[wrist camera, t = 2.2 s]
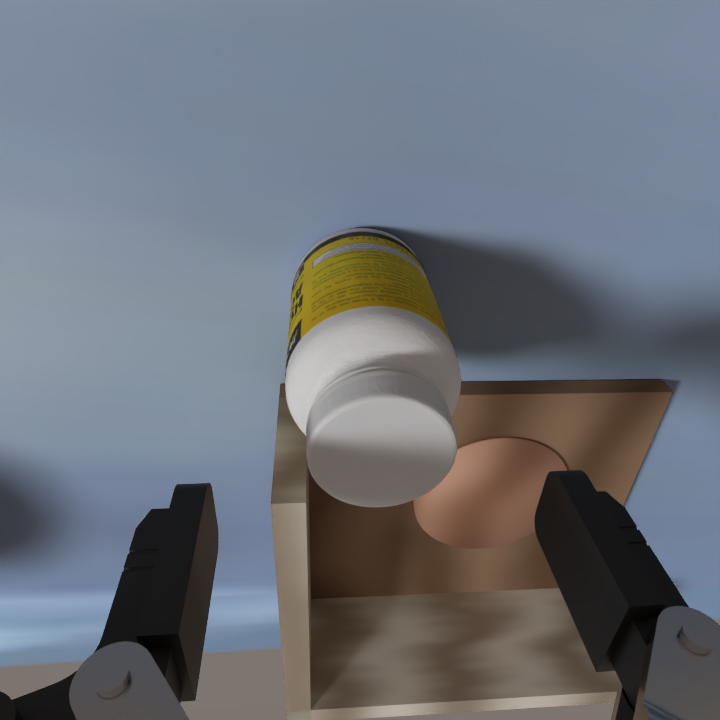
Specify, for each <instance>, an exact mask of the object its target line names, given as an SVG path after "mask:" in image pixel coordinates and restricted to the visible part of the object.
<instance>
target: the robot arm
mask: <svg viewBox="0 0 720 720" xmlns="http://www.w3.org/2000/svg"><path fill="white" fill-rule="evenodd" d="M534 523H535V532H536V536H537V539H538V541H539V544H540V546H541V548H542V550H543V553H544V555H545V557H546V560H547V562H548V564H549V566H550V569H551V571H552V573H553V575H554V578H555V580H556V582H557V584H558V587H559V589H560V591H561V594H562V596H563V598H564V600H565V603H566V605H567V607H568V609H569V612H570V614H571V616H572V618H573V621H574V623H575V625H576V628H577V630H578V632H579V634H580V637H581V639H582V641H583V643H584V646H585V648H586V650H587V653H588V655H589V657H590V659H591V662H592V664H593V666H594V668H595V671H596V672H606V671H615V672H616V674H617V676H618V678H619V680H620V682H621V684H620V685H619V687H618V690H617V694H616V699H615V703H614V708H613V713H612V717H611V720H720V625H719V624H718V623H717V622H715V621H714V620H713V619H712V618H710V617H709V616H707V615H706V614H704V613H702V612H700V611H698V610H695V609H693V608H689V606H688V605H687V604H686V602H685V601H684V599H683V598H682V596H681V595H680V593H679V591H678V590H677V588H676V587H675V585H674V584H673V582H672V581H671V579H670V577H669V576H668V574H667V573H666V571H665V570H664V568H663V566H662V565H661V563H660V562H659V560H658V559H657V557H656V556H655V554H654V552H653V551H652V549H651V548H650V546H647V544H646V540H645V538H644V537H643V535H642V534H641V532H640V531H639V530H637V528H636V527H637V526H636V524H635V523H634V521H633V520H632V518H631V517H630V515H629V513H628V512H627V510H626V509H625V507H624V506H622V505H621V504H620V503H619V502H618V501H617V500H615V499H614V498H613V497H612V496H611V495H610V494H609V493H607V492H606V491H596V489H595V487H594V486H593V484H592V482H591V481H590V479H589V478H588V476H587V475H586V473H585V472H584V471H582V470H569V471H550V472H549V473H548V474H547V476H546V479H545V483H544V486H543V489H542V493H541V496H540V499H539V502H538V506H537V509H536V512H535V519H534ZM129 550H130V552H129V554H128V556H127V559H126V562H125V565H124V572H122V575H121V578H120V581H119V584H118V588H117V591H116V594H115V597H114V600H113V604H112V607H111V610H110V613H109V616H108V620H107V623H106V626H105V629H104V632H103V636H102V638H101V641H100V643H99V645H98V647H97V649H96V651H95V652H94V653H93V654H92V655H91V656H90V657H89V658H87V659H86V660H85V661H84V663H83V664H82V665H81V666H80V668H79V669H78V670H77V671H76V672H74V673H73V674H72V675H70V676H69V677H67V678H65V679H63V680H62V681H60V682H57V683H55V684H53V685H50V686H48V687H45V688H42V689H39V690H37V691H34V692H32V693H29V694H27V695H24V696H21V697H19V698H16V699H13V700H11V699H10V697H9V696H8V695H6V694H5V693H2V692H0V720H189V718H188V717H187V715H186V713H185V711H184V710H183V708H182V706H181V705H180V702H181V701H193V700H194V701H195V699H196V692H197V686H198V679H199V673H200V666H201V659H202V653H203V646H204V640H205V633H206V626H207V620H208V613H209V607H210V600H211V593H212V587H213V580H214V574H215V567H216V560H217V553H218V525H217V518H216V512H215V505H214V499H213V492H212V487H211V484H210V483H201V484H177V485H176V487H175V489H174V492H173V496H172V500H171V504H170V508H167V509H151V511H150V512H149V513H148V514H147V515H146V517H145V518H144V519H143V520H142V522H141V523H140V524H139V525H138V527H137V528H136V530H135V533H134V537H133V540H132V543H131V546H130V549H129Z"/></svg>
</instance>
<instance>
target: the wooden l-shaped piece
mask: <svg viewBox="0 0 720 720" xmlns="http://www.w3.org/2000/svg"><path fill="white" fill-rule="evenodd" d="M672 393H673V391H672V390H671V389H670V388H669V387H668V386H667V385H666V384H665V383H664V381H663V380H662V379H653V380H572V381H491V382H461V389H460V395H459V399H458V402H457V405H456V408H455V410H454V412H453V414H452V416H451V418H452V422H453V425H454V429H455V432H456V436H457V454H456V458H455V461H454V464H453V466H452V468H451V470H450V472H449V473H448V474H447V476H446V477H445V478H444V479H443V481H442V482H441V483H440V484H439V485H437V486H436V487H435V488H434V489H432V490H431V491H430V492H428V493H426V494H425V495H423V496H421V497H419V498H417V499H414V500H412V501H409V502H406V503H403V504H399V505H395V506H389V507H363V506H357V505H352V504H349V503H346V502H343V501H341V500H338V499H336V498H334V497H333V496H331V495H329V494H328V493H327V492H326V491H324V490H323V489H322V488H321V487H320V486H319V485H318V484H317V483H316V481H315V480H314V478H313V477H312V475H311V473H310V470H309V467H308V464H307V457H306V435H305V434H304V433H303V432H302V431H301V430H300V428H299V427H298V426H297V424H296V422H295V421H294V419H293V417H292V415H291V413H290V410H289V407H288V404H287V399H286V391H285V384H280V395H279V408H278V420H277V433H276V445H275V458H274V470H273V483H272V495H271V513H272V527H273V540H274V553H275V567H276V580H277V594H278V607H279V621H280V634H281V647H282V661H283V674H284V688H285V701H286V715H287V720H345V719H361V718H377V717H392V716H393V717H394V716H410V715H426V714H440V713H457V712H473V711H489V710H505V709H521V708H537V707H553V706H567V705H568V706H569V705H585V704H601V703H615V699H616V694H617V690H618V687H619V685H620V684H621V682H620V680H619V678H618V676H617V674H616V672H615V671H606V672H596V671H595V668H594V666H593V664H592V662H591V659H590V657H589V655H588V653H587V650H586V648H585V646H584V643H583V641H582V639H581V637H580V634H579V632H578V630H577V628H576V625H575V623H574V621H573V618H572V616H571V614H570V612H569V609H568V607H567V605H566V603H565V600H564V598H563V596H562V594H561V591H560V589H559V587H558V584H557V582H556V580H555V578H554V575H553V573H552V571H551V569H550V566H549V564H548V562H547V560H546V557H545V555H544V553H543V550H542V548H541V546H540V544H539V541H538V539H537V536H536V532H535V523H534V519H535V512H536V509H537V506H538V502H539V499H540V496H541V493H542V489H543V486H544V483H545V479H546V476H547V474H548V473H549V472H550V471H569V470H582V471H584V472H585V473H586V475H587V476H588V478H589V479H590V481H591V482H592V484H593V486H594V487H595V489H596V491H606V492H607V493H609V494H610V495H611V496H612V497H613V498H614V499H615V500H617V501H618V502H619V503H620V504H621V505H622V506H623V505H624V503H625V501H626V498H627V496H628V494H629V491H630V489H631V487H632V485H633V482H634V480H635V478H636V476H637V473H638V471H639V469H640V466H641V464H642V462H643V460H644V457H645V455H646V453H647V450H648V448H649V446H650V444H651V441H652V439H653V437H654V434H655V432H656V430H657V428H658V425H659V423H660V421H661V418H662V416H663V414H664V412H665V409H666V407H667V405H668V402H669V400H670V398H671V396H672Z"/></svg>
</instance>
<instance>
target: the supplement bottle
mask: <svg viewBox="0 0 720 720" xmlns="http://www.w3.org/2000/svg"><path fill="white" fill-rule="evenodd" d="M460 389H461V374H460V368H459V364H458V360H457V357H456V354H455V351H454V348H453V345H452V343H451V340H450V337H449V334H448V332H447V329H446V327H445V324H444V321H443V319H442V316H441V313H440V310H439V308H438V305H437V303H436V300H435V297H434V295H433V292H432V289H431V287H430V284H429V282H428V279H427V276H426V274H425V271H424V269H423V266H422V265H421V263H420V261H419V259H418V258H417V256H416V255H415V253H414V252H413V251H412V250H411V249H410V247H409V246H407V245H406V244H405V243H404V242H403V241H401V240H400V239H398V238H397V237H395V236H393V235H391V234H389V233H386V232H384V231H380V230H376V229H369V228H353V229H347V230H343V231H340V232H337V233H334V234H332V235H329V236H328V237H326V238H324V239H322V240H321V241H319V242H318V243H317V244H315V245H314V246H313V247H312V248H311V249H310V250H309V251H308V252H307V254H306V255H305V256H304V257H303V259H302V260H301V262H300V264H299V266H298V268H297V271H296V274H295V277H294V282H293V287H292V293H291V312H290V326H289V338H288V350H287V362H286V373H285V391H286V399H287V404H288V407H289V410H290V413H291V415H292V417H293V419H294V421H295V422H296V424H297V426H298V427H299V428H300V430H301V431H302V432H303V433H304V434H305V435H306V457H307V464H308V467H309V470H310V473H311V475H312V477H313V478H314V480H315V481H316V483H317V484H318V485H319V486H320V487H321V488H322V489H323V490H324V491H326V492H327V493H328V494H329V495H331V496H333V497H334V498H336V499H338V500H341V501H343V502H346V503H349V504H352V505H357V506H363V507H389V506H395V505H399V504H403V503H406V502H409V501H412V500H414V499H417V498H419V497H421V496H423V495H425V494H426V493H428V492H430V491H431V490H432V489H434V488H435V487H436V486H437V485H439V484H440V483H441V482H442V481H443V479H444V478H445V477H446V476H447V474H448V473H449V472H450V470H451V468H452V466H453V464H454V461H455V458H456V454H457V436H456V432H455V429H454V425H453V422H452V418H451V416H452V414H453V412H454V410H455V408H456V405H457V402H458V399H459V395H460Z"/></svg>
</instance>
